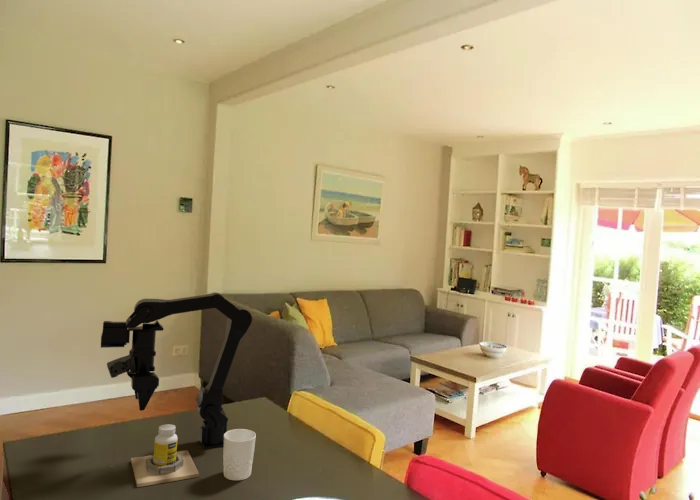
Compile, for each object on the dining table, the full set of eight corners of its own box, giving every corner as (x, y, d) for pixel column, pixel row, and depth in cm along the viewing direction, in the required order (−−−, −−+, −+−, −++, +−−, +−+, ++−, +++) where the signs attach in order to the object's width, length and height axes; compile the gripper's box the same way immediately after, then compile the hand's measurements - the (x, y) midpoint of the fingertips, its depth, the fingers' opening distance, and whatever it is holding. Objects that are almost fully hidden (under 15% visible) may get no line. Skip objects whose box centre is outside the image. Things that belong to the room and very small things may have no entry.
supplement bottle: (168, 472, 121) (170, 432, 120) (148, 468, 122) (150, 429, 121) (179, 462, 126) (182, 424, 126) (160, 459, 127) (163, 421, 127)
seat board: (187, 453, 133) (187, 444, 133) (198, 476, 121) (199, 467, 121) (130, 461, 126) (131, 452, 126) (137, 487, 114) (137, 477, 114)
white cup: (237, 485, 118) (240, 444, 118) (214, 475, 122) (216, 435, 122) (259, 473, 125) (262, 434, 125) (237, 464, 129) (239, 426, 129)
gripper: (107, 340, 136) (104, 396, 136) (112, 356, 120) (108, 420, 120) (150, 338, 142) (147, 392, 142) (161, 354, 125) (157, 415, 126)
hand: (139, 404), depth 132 cm, fingers open, 9 cm apart
